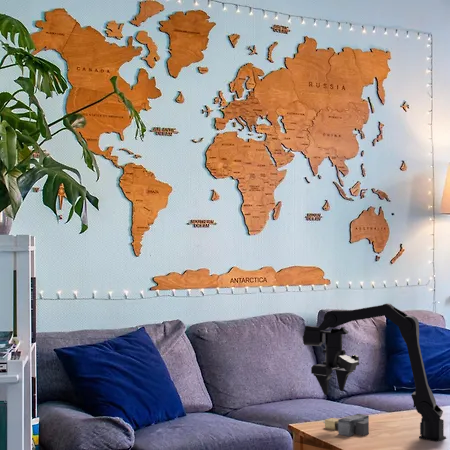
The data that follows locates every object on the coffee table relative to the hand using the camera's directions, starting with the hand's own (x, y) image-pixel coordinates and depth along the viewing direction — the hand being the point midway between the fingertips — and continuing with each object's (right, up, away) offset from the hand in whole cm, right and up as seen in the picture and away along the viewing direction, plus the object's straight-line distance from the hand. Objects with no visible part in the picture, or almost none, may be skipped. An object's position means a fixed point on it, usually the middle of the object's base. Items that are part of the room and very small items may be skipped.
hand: (333, 392), depth 248 cm
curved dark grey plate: (+6, -12, -6) cm, 14 cm away
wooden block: (0, -12, 0) cm, 12 cm away
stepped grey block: (+5, -12, -5) cm, 14 cm away
